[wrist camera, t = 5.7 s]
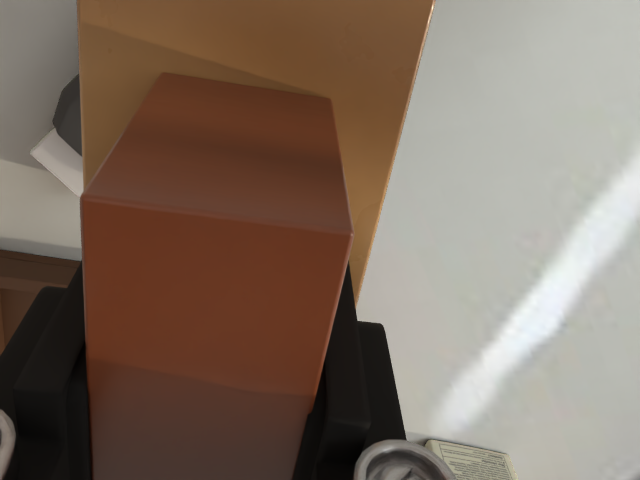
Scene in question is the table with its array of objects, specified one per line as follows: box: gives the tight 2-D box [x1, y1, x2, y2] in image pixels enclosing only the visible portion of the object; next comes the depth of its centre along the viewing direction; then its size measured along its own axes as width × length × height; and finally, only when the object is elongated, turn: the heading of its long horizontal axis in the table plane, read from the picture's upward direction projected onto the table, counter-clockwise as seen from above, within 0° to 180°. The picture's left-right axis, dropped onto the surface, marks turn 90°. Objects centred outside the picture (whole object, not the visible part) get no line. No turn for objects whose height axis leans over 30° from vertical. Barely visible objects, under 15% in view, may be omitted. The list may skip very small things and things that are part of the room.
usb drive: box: [30, 74, 83, 198], centre depth 25 cm, size 5×12×3 cm, turn 127°
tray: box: [0, 250, 81, 356], centre depth 33 cm, size 18×11×2 cm, turn 78°
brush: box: [77, 0, 436, 480], centre depth 11 cm, size 12×5×7 cm, turn 170°
